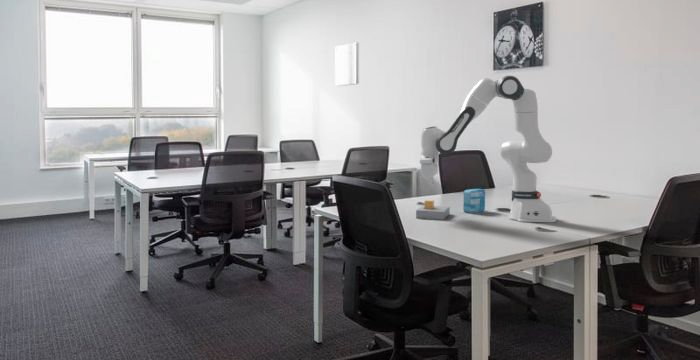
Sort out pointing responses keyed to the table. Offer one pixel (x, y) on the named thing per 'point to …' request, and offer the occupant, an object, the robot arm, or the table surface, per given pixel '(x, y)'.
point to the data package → (474, 200)
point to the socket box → (433, 212)
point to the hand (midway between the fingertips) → (430, 185)
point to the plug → (429, 204)
